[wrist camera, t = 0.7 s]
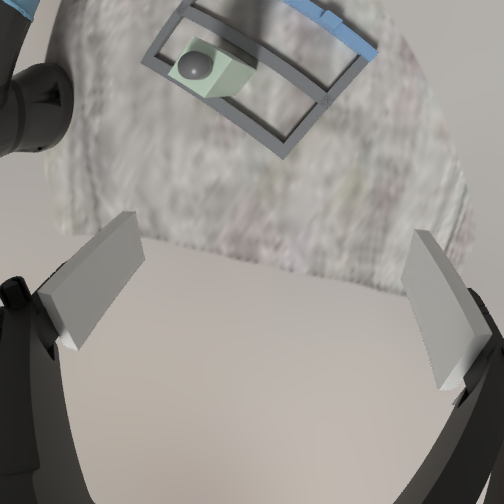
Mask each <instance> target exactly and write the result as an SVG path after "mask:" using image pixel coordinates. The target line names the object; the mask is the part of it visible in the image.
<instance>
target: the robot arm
mask: <svg viewBox="0 0 504 504" xmlns="http://www.w3.org/2000/svg"><path fill="white" fill-rule="evenodd" d="M39 2H40V0H0V157H2V156H4V155H7V154H9V153H12V152H41V151H44V150H47V149H49V148H52V147H54V146H55V145H56V144H58V143H59V142H60V141H61V139H62V138H63V136H64V135H65V133H66V131H67V129H68V127H69V124H70V120H71V116H72V110H73V94H72V88H71V84H70V81H69V78H68V76H67V74H66V73H65V71H64V70H63V69H62V68H61V67H60V66H58V65H56V64H54V63H40V64H35V65H33V66H30V67H29V68H27V69H25V70H23V71H21V72H19V73H17V74H16V75H14V76H12V75H13V71H14V68H15V65H16V61H17V58H18V56H19V53H20V50H21V47H22V44H23V41H24V39H25V37H26V34H27V32H28V29H29V27H30V25H31V23H32V22H33V20H34V18H33V17H34V14H35V11H36V9H37V6H38V4H39ZM144 260H145V257H144V253H143V248H142V243H141V238H140V233H139V228H138V222H137V217H136V212H122V213H120V214H119V215H118V216H117V217H116V218H115V219H113V220H112V221H111V222H110V223H109V224H108V225H106V226H105V227H104V228H103V229H102V230H101V231H100V232H98V233H97V234H96V235H95V236H94V237H93V238H92V239H91V240H90V241H88V243H86V244H85V245H84V246H83V247H82V248H81V249H80V250H79V251H78V252H77V253H76V254H75V255H74V256H72V257H71V258H70V259H69V260H68V261H66V262H65V263H63V264H62V265H61V266H60V267H59V268H58V269H57V270H56V272H54V273H53V274H52V275H51V276H50V278H48V279H47V280H46V281H45V282H44V283H43V284H42V285H41V286H40V287H39V288H38V289H37V290H36V291H35V292H34V293H33V294H32V295H31V294H30V291H29V289H28V287H27V285H26V282H25V280H24V278H22V277H20V276H16V277H12V278H10V279H8V280H6V281H5V282H4V283H2V284H1V285H0V298H1V300H2V302H3V304H4V306H2V307H0V504H95V503H94V502H93V500H92V499H91V497H90V495H89V492H88V490H87V487H86V484H85V481H84V477H83V474H82V471H81V468H80V465H79V461H78V457H77V454H76V450H75V446H74V442H73V438H72V434H71V430H70V425H69V420H68V416H67V410H66V404H65V398H64V392H63V385H62V379H61V371H60V362H59V352H58V346H57V344H56V342H55V341H56V339H57V338H58V336H59V337H60V339H61V340H62V342H63V344H64V346H65V347H69V348H71V349H74V350H77V351H79V349H80V348H81V346H82V345H83V344H84V342H85V341H86V339H87V338H88V336H89V335H90V333H91V332H92V330H93V329H94V328H95V326H96V324H97V323H98V322H99V320H100V319H101V318H102V316H103V315H104V313H105V312H106V311H107V309H108V308H109V307H110V305H111V304H112V302H113V301H114V300H115V298H116V297H117V296H118V294H119V293H120V292H121V290H122V289H123V288H124V286H125V285H126V284H127V282H128V281H129V279H130V278H131V277H132V275H133V274H134V273H135V272H136V270H137V269H138V268H139V267H140V265H141V264H142V263H143V262H144ZM401 281H402V284H403V286H404V289H405V291H406V294H407V296H408V299H409V301H410V304H411V306H412V309H413V312H414V315H415V317H416V320H417V323H418V326H419V329H420V332H421V335H422V338H423V341H424V344H425V347H426V350H427V353H428V356H429V360H430V363H431V367H432V370H433V373H434V377H435V380H436V384H437V388H438V390H449V389H455V388H456V387H457V385H458V384H459V383H460V382H461V380H462V379H464V382H465V385H466V387H465V388H464V390H463V391H462V392H461V393H460V395H459V396H458V397H457V398H456V399H455V401H454V402H453V403H452V404H453V405H455V404H456V405H455V407H454V409H453V411H452V413H451V415H450V417H449V419H448V421H447V423H446V424H445V426H444V428H443V430H442V432H441V434H440V435H439V437H438V439H437V440H436V442H435V444H434V446H433V447H432V449H431V451H430V452H429V454H428V455H427V457H426V459H425V460H424V462H423V463H422V465H421V466H420V468H419V469H418V471H417V472H416V474H415V475H414V477H413V478H412V479H411V481H410V482H409V484H408V485H407V487H406V488H405V489H404V490H403V492H402V493H401V494H400V496H399V497H398V498H397V500H396V501H395V502H394V503H393V504H476V502H477V500H478V498H479V496H480V494H481V492H482V490H483V488H484V486H485V484H486V482H487V480H488V478H489V475H490V473H491V476H490V481H489V485H488V488H487V492H486V496H485V499H484V503H483V504H504V338H503V337H502V335H501V333H500V332H499V329H498V327H497V326H496V324H495V322H494V320H493V318H492V316H491V315H490V314H489V311H488V310H487V308H486V307H485V304H484V303H483V301H482V300H481V298H480V296H479V295H478V294H477V293H476V292H475V291H473V290H472V289H471V288H467V287H466V286H465V284H464V282H463V281H462V279H461V278H460V276H459V274H458V273H457V271H456V270H455V268H454V267H453V265H452V264H451V262H450V261H449V259H448V258H447V256H446V255H445V253H444V252H443V250H442V249H441V247H440V246H439V245H438V243H437V242H436V240H435V239H434V237H433V236H432V235H431V233H430V232H429V231H426V230H417V229H414V233H413V237H412V241H411V245H410V249H409V252H408V256H407V260H406V263H405V267H404V270H403V273H402V277H401ZM491 471H492V472H491Z"/></svg>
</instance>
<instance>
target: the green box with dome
mask: <svg viewBox="0 0 504 504" xmlns="http://www.w3.org/2000/svg"><path fill="white" fill-rule="evenodd" d="M255 71H256V69H254V68H253V67H251V66H250V65H248V64H247V63H245V62H244V61H242V60H240V59H239V58H237V57H236V56H234V55H232V54H231V53H229V52H227V51H225V50H223V49H221V48H219V47H217V46H214V45H212V44H210V43H208V42H206V41H203V40H201V39H199V38H196V37H193V38H192V40H191V41H190V42H189V44H188V45H187V47H186V48H185V50H184V51H183V52H182V54H181V55H180V57H179V58H178V60H177V61H176V63H175V64H174V66H173V67H172V69H171V70H170V72H169V73H168V75H169V76H171V77H172V78H174V79H176V80H177V81H179V82H180V83H182V84H184V85H185V86H187V87H188V88H190V89H191V90H193V91H194V92H196V93H198V94H199V95H201V96H202V97H204V98H211V97H224V96H237V94H238V93H239V92H240V90H241V89H242V88H243V87H244V85H245V84H246V83H247V81H248V80H249V79H250V78H251V76H252V75H253V74H254V72H255Z"/></svg>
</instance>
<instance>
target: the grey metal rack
mask: <svg viewBox="0 0 504 504" xmlns="http://www.w3.org/2000/svg"><path fill="white" fill-rule="evenodd" d="M281 1H283V2H284V3H286V4H288V5H289V6H291V7H292V8H294V9H296V10H297V11H299V12H300V13H302V14H304V15H305V16H307V17H308V18H310V19H311V20H313V21H314V22H316V23H317V24H318V25H320V26H321V27H323V28H324V29H326V30H327V31H328V32H330V33H331V34H332V35H334V36H335V37H336V38H338V39H339V40H340V41H342V42H343V43H344V44H346V45H347V46H348V47H349V48H351V49H352V50H353V51H354V52H356V53H357V54H358V55H359V57H358V59H357V60H356V61H355V62H354V63H353V64H352V65H351V66H350V67H349V68H348V70H347V71H346V72H345V73H344V74H343V75H342V76H341V77H340V78H339V80H338V81H337V82H336V83H335V84H334V85H333V86H332V87H331V89H330V90H329V91H328V92H327V93H326V92H325V91H324V90H322V89H321V88H320V87H319V86H317V85H316V84H315V83H313V82H312V81H311V80H309V79H308V78H307V77H305V76H304V75H303V74H301V73H300V72H299V71H297V70H296V69H295V68H293V67H292V66H290V65H289V64H288V63H286V62H285V61H283V60H282V59H280V58H279V57H278V56H276V55H275V54H273V53H272V52H270V51H269V50H267V49H266V48H264V47H262V46H261V45H259V44H258V43H256V42H255V41H253V40H251V39H250V38H248V37H246V36H245V35H243V34H241V33H240V32H238V31H236V30H235V29H233V28H231V27H229V26H228V25H226V24H224V23H222V22H220V21H219V20H217V19H215V18H213V17H211V16H209V15H207V14H205V13H203V12H201V11H199V10H197V9H195V8H193V7H192V5H193V4H194V3H195V2H196V0H183V1H182V2H181V4H180V5H179V6H178V8H177V9H176V10H175V12H174V13H173V14H172V16H171V17H170V18H169V20H168V21H167V23H166V24H165V25H164V27H163V28H162V30H161V31H160V33H159V34H158V36H157V37H156V39H155V40H154V42H153V43H152V45H151V46H150V48H149V50H148V51H147V53H146V54H145V56H144V58H143V59H142V61H141V63H142V64H143V65H145V66H147V67H148V68H150V69H152V70H154V71H155V72H157V73H159V74H160V75H162V76H163V77H165V78H167V79H168V80H170V81H172V82H173V83H175V84H176V85H178V86H180V87H181V88H183V89H184V90H186V91H187V92H189V93H190V94H192V95H193V96H195V97H197V98H198V99H200V100H201V101H203V102H204V103H206V104H207V105H209V106H210V107H211V108H213V109H214V110H216V111H217V112H219V113H220V114H222V115H223V116H225V117H226V118H227V119H229V120H230V121H232V122H233V123H234V124H236V125H237V126H239V127H240V128H241V129H243V130H244V131H246V132H247V133H248V134H250V135H251V136H252V137H254V138H255V139H256V140H258V141H259V142H260V143H262V144H263V145H264V146H266V147H267V148H268V149H270V150H271V151H272V152H274V153H275V154H276V155H277V156H279V157H280V158H281V159H283V160H284V159H285V157H286V156H287V155H288V154H289V153H290V151H291V150H292V149H293V148H294V147H295V146H296V144H297V143H298V142H299V141H300V140H301V139H302V137H303V136H304V135H305V134H306V133H307V132H308V130H309V129H310V128H311V127H312V126H313V125H314V123H315V122H316V121H317V120H318V119H319V118H320V117H321V115H322V114H323V113H324V112H325V111H326V110H327V109H328V107H329V106H330V105H331V104H332V103H333V102H334V101H335V100H336V98H337V97H338V96H339V95H340V94H341V93H342V92H343V91H344V89H345V88H346V87H347V86H348V85H349V84H350V83H351V82H352V81H353V79H354V78H355V77H356V76H357V75H358V74H359V73H360V72H361V71H362V69H363V68H364V67H365V66H366V65H367V64H368V63H369V62H371V61H372V59H373V58H374V57H375V56H376V55H377V54H378V53H379V52H378V51H377V50H375V49H374V48H373V47H372V46H371V45H370V44H368V43H367V42H366V41H365V40H363V39H362V38H361V37H360V36H358V35H357V34H356V33H355V32H353V31H352V30H351V29H350V28H348V27H347V26H346V25H344V24H343V23H342V22H343V20H342V19H341V18H339V17H338V16H336V15H335V14H334V13H332V12H331V11H329V10H327V11H325V10H323V9H322V8H320V7H319V6H317V5H316V4H314V3H312V2H311V1H309V0H281ZM183 17H186V18H188V19H190V20H192V21H194V22H196V23H197V24H199V25H201V26H203V27H205V28H207V29H209V30H210V31H212V32H214V33H216V34H218V35H219V36H221V37H223V38H224V39H226V40H228V41H230V42H231V43H233V44H235V45H236V46H238V47H239V48H241V49H243V50H244V51H246V52H247V53H249V54H251V55H252V56H254V57H255V58H257V59H258V60H260V61H261V62H263V63H264V64H266V65H267V66H269V67H270V68H272V69H273V70H274V71H276V72H277V73H279V74H280V75H282V76H283V77H284V78H286V79H287V80H288V81H290V82H291V83H293V84H294V85H295V86H297V87H298V88H299V89H301V90H302V91H303V92H305V93H306V94H307V95H308V96H310V97H311V98H312V99H314V100H315V101H316V102H317V105H316V106H315V107H314V108H313V109H312V110H311V112H310V113H309V114H308V115H307V116H306V117H305V119H304V120H303V121H302V122H301V123H300V124H299V126H298V127H297V128H296V129H295V130H294V131H293V133H292V134H291V135H290V136H289V137H288V139H287V140H286V141H285V142H283V141H281V140H280V139H279V138H277V137H276V136H275V135H273V134H272V133H271V132H270V131H268V130H267V129H266V128H264V127H263V126H261V125H260V124H259V123H257V122H256V121H255V120H253V119H252V118H251V117H249V116H248V115H246V114H245V113H244V112H242V111H241V110H239V109H238V108H236V107H235V106H234V105H232V104H231V103H229V102H228V101H226V100H225V99H223V98H222V97H211V98H204V97H202V96H201V95H199V94H198V93H196V92H194V91H193V90H191V89H190V88H188V87H187V86H185V85H184V84H182V83H180V82H179V81H177V80H176V79H174V78H172V77H171V76H169V75H168V73H169V72H170V70H171V69H172V67H173V66H171V65H170V64H168V63H166V62H165V61H163V60H161V59H159V58H158V57H156V56H157V55H158V53H159V52H160V50H161V49H162V47H163V46H164V44H165V43H166V41H167V40H168V38H169V37H170V35H171V34H172V32H173V31H174V30H175V28H176V27H177V25H178V24H179V23H180V21H181V20H182V18H183Z"/></svg>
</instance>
